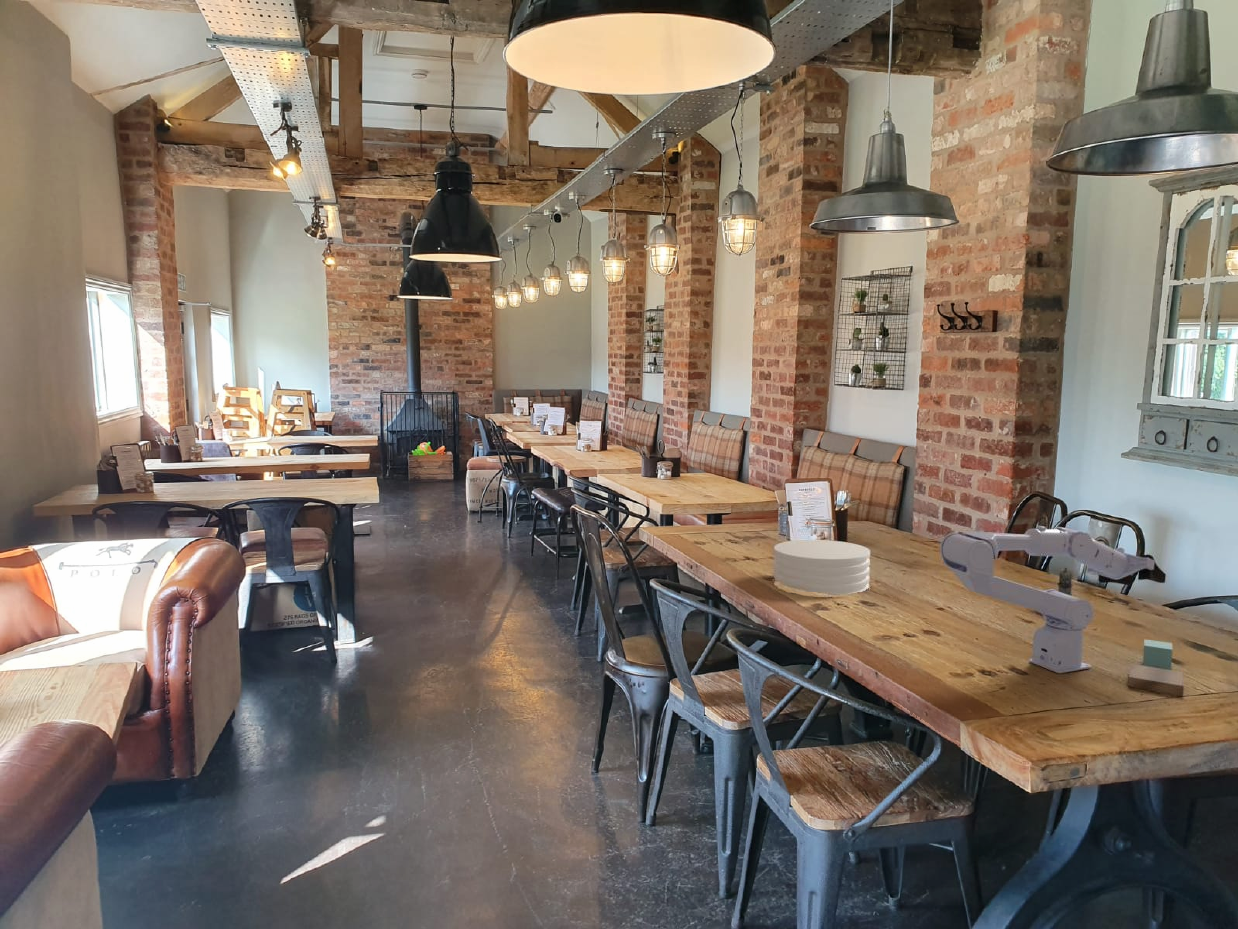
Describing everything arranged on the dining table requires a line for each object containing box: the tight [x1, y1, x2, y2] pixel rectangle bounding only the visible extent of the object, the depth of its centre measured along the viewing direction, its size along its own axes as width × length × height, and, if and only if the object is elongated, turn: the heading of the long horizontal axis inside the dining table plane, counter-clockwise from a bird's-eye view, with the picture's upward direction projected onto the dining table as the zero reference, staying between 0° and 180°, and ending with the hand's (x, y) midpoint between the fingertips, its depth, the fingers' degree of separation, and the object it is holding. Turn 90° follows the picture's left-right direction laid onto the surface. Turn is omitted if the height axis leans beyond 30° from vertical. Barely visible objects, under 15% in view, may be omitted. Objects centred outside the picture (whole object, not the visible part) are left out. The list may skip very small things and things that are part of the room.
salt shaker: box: [1057, 567, 1074, 596], centre depth 215 cm, size 6×6×12 cm
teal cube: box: [1142, 638, 1173, 670], centre depth 174 cm, size 5×5×5 cm
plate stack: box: [773, 539, 871, 595], centre depth 243 cm, size 28×28×12 cm
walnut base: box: [1128, 663, 1185, 697], centre depth 164 cm, size 9×9×2 cm
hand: (1147, 579), depth 178 cm, fingers open, 7 cm apart
